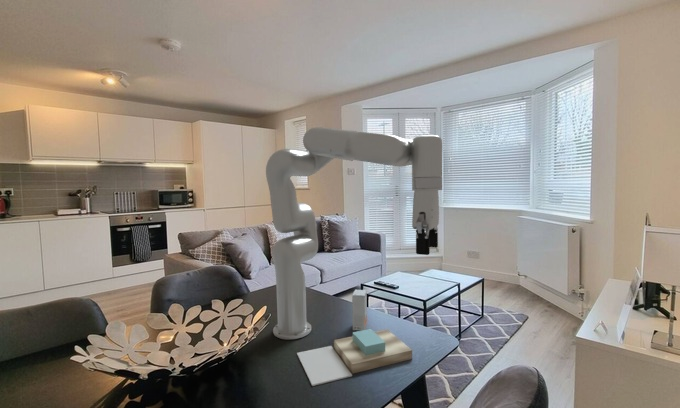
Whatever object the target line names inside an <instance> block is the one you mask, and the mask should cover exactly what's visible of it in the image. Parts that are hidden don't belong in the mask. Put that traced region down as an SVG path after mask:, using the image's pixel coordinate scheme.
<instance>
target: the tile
mask: <svg viewBox="0 0 680 408" xmlns="http://www.w3.org/2000/svg"><path fill="white" fill-rule="evenodd" d="M375 332H376V331H374V330H373V329H372V328H369V329H365V330H362V331H359V330H356V331H352V336H353V342H354V343H355V344H356V345H357V346H358V347H359V348H360V350H361V351H362V352H363V353H364V354H365V355H370V354H375V353H379V352H383V351H385V341H383V340H382V339H381V338H380V337H379V336H378V335H377V334H376V333H375Z"/></svg>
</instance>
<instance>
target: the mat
mask: <svg viewBox="0 0 680 408" xmlns="http://www.w3.org/2000/svg"><path fill="white" fill-rule="evenodd" d="M296 356H297V357H298V359H299V361H300V363H301V365H302V368H303V369H304V372H305V374H306V375H307V378H308V380H309V383H310V384H311V387H314V386H318V385H319V386H320V385H323V384H327V383H331V382H335V381H339V380H344V379H346V378H351V377H353V374H352V372H351V371H350V370H349V368H348V367H347V365H346V364H345V363H344V361H343V360H342V359H341V357H340V356H339V354H338V353H337V352H336V350H335V349H334V346H332V345H328V346H324V347H323V346H322V347H318V348H313V349H308V350H304V351H299V352H296Z"/></svg>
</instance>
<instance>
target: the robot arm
mask: <svg viewBox="0 0 680 408" xmlns="http://www.w3.org/2000/svg"><path fill="white" fill-rule="evenodd" d="M302 137H303V138H302V143H303V147H304V149H305V150H299V149H294V148H282V149H278V150H277V151H274V153H272V154H271V155H270V157H269V159H268V160H267V163H266V166H265V177H266V182H267V186H268V191H269V197H270V198H269V200H270V208H271V215H272V216H271V217H272V222H273V223H272V224H273V227H274V229H275V230H276V231H277V232H278V233H281V234H289V233H293V235H290V236H287V237H283V238H281V239H279V240H278V241H277V242H275V244H274V245H273V247H272V251H271V256H272V262H273V265H274V270H275V283H276V284H275V285H276V309H277V311H276V312H277V314H276V315H277V324H275V326H274V327H273V329H272V333H273V335H274V336H275V337H277V338H279V339H282V340H297V339H301V338H304V337H306V336H308V335H309V334H310V333H311V331H312V324H310V323H309V322H308V321H307V295H306V294H307V293H306V292H307V291H306V290H307V289H306V286H307V285H306V276H305V272H304V269H303V267H302V263H305V262H306V261H307V262H308V261H309V260H312V259H314V257H315V256H317V253H318V251H319V239H318V230H317V222H316V215H315V213H314V211H313V208H312V207H311V206H310V205H309V204H307V203H305V202H298V198H297V190H296V187H295V184H294V183H293V181H292V179H291V177H310V176H312V175H314V174H316V173H317V172H319V171H320V170H321V169H322V168H324V167H325V166H327V165H328V164H329V163H330V162H332V161H333V160H334V159H338V160H343V161H349V162H353V161H359V162H366V163H371V164H377V165H382V166H389V167H390V166H392V167H398V168H399V167H401V168H402V167H407V166H411V191H414V192H413V197H412V198H413V199H412V218H411V219H412V220H411V221H412V222H411V223H412V224H411V227H412V229H413V230H415V253H416V255H423V256H424V255H426V256H429V255H430V248H438V247H439V245H438V243H439V242H438V241H439V237H438V235H439V233H438V225H439V222H440V221H439V220H440V205H439V203H440V201H439V200H440V197H439V191H443V140H442V138H441V137H440V136H439V135H436V134H435V135H434V134H426V135H419V136H416V137H414V138H413V139H407V138H403V137H401V136H400V137H399V136H397V135H392V134H387V133H386V134H385V133H375V132H364V131H357V130H348V129H339V128H331V127H329V128H328V127H323V126H322V127H321V126H316V127H311V128H309V129H308V130H306V132H305V133H304V135H303V136H302Z"/></svg>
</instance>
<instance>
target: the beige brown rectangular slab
mask: <svg viewBox="0 0 680 408" xmlns="http://www.w3.org/2000/svg"><path fill="white" fill-rule="evenodd" d="M374 332H375V333H376V334H377V335H378V336H379V337H380V338H381V339H382V340H383V341H385V351H383V352H379V353H375V354H370V355H365V354H364V353H363V352H362V351H361V350H360V348H359V347H358V346H357V345H356V344H355V343H354V342H353V335H351V336H347V337H342V338H338V339H337V338H336V339H333V349H334V350H335V352H336V353H337V354H338V356H339V357H340V358H341V360H342V361H343V363H344V364H345V365H346V367H347V368H348V370H349V371H350V372H351V374H352V375H353V374H357V373H360V372H361V373H362V372H365V371H370V370H373V369H376V368H382V367H386V366H389V365H393V364H397V363H401V362H405V361H410V360H412V359H413V349H412V348H410V347H409V346H408V345H407V344H406V343H405V342H403V341H402V340H401V339H400V338H399V337H398V336H396V335H395V334H394V333H393V332H392V331H390V330H389V329H382V330H377V331H376V330H375V331H374Z"/></svg>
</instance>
